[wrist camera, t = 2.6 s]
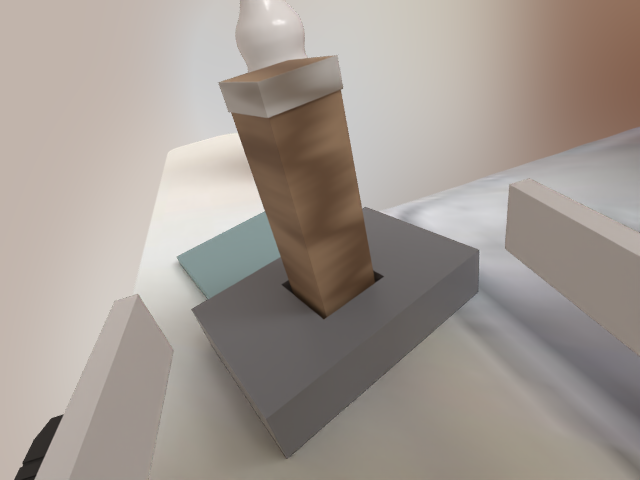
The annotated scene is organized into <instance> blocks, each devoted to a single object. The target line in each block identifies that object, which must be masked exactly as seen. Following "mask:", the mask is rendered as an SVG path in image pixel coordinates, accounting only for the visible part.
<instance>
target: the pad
mask: <svg viewBox="0 0 640 480" xmlns="http://www.w3.org/2000/svg"><path fill="white" fill-rule="evenodd" d="M279 257H281V256H280V253H279V250H278V247H277V244H276V241H275V239H274V236H273V233H272V230H271V227H270V224H269V221H268V218H267V215H266V212H265V211H264V212H263V213H261V214H259V215H257V216H255V217H253V218H251V219H249V220H247V221H245V222H243V223H241V224H239V225H237V226H235V227H233V228H231V229H230V230H228V231H226V232H224V233H222V234H220V235H218V236H216V237H214V238H212V239H210V240H208V241H206V242H204V243H202V244H200V245H198V246H197V247H195V248H193V249H191V250H189V251H187V252H185V253H183V254H181V255H179V256H177V259H178V261H179V262H180V264H181V265H182V267H183V268H184V269H185V271H186V272H187V273H188V274H189V276H190V277H191V278H192V279H193V281H194V282H195V283H196V284H197V286H198V287H199V288H200V290H201V291H202V292H203V293H204V295H205V296H206V297H207V298H208V299H210V298H211V297H213V296H215V295H217V294H218V293H220V292H222V291H223V290H225V289H227V288H228V287H230V286H232V285H234V284H235V283H237V282H239V281H240V280H242V279H244V278H245V277H247V276H249V275H250V274H252V273H254V272H256V271H257V270H259V269H261V268H262V267H264V266H266V265H267V264H269V263H271V262H273V261H274V260H276V259H278V258H279Z"/></svg>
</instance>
